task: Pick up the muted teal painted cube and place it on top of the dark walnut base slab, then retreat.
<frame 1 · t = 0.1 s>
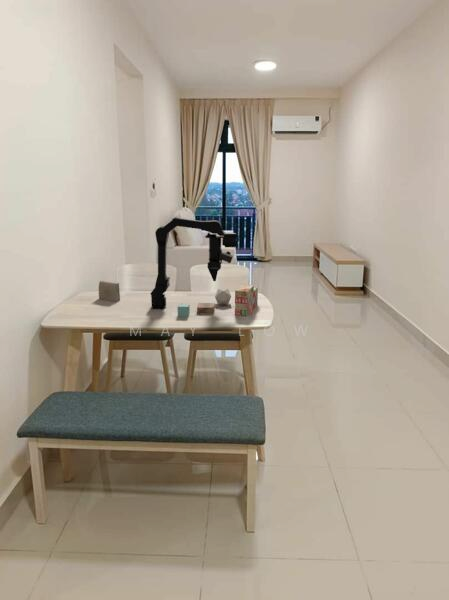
hand: (215, 279, 217), 15 cm above the table, tool pointing down, fingers open, 9 cm apart
printed cardboard box: (246, 310, 219), on the table
walnut base: (205, 311, 215), on the table
teal cube: (183, 315, 209), on the table
die: (223, 304, 228), on the table
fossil: (109, 300, 235), on the table
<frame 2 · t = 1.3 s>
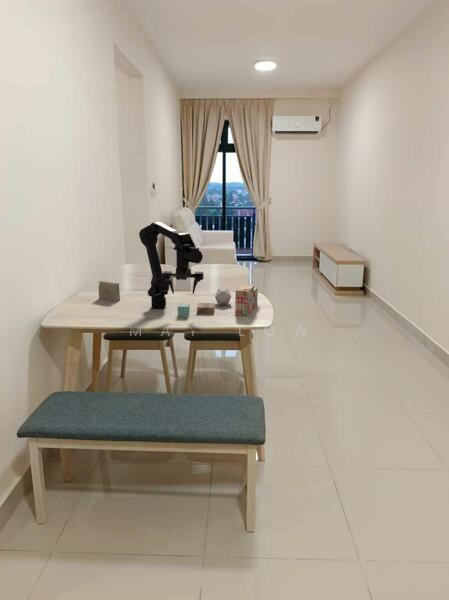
hand: (183, 293, 206), 10 cm above the table, tool pointing down, fingers open, 9 cm apart
nothing on the table moved.
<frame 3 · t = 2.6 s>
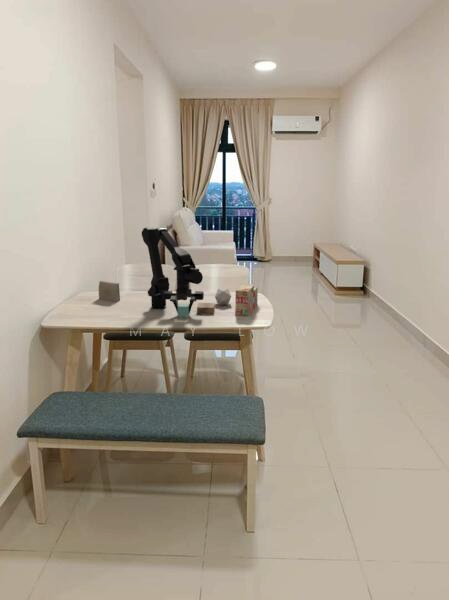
hand: (183, 313, 209), 1 cm above the table, tool pointing down, fingers closed on teal cube, 5 cm apart
teal cube: (183, 315, 209), on the table, touching gripper
everything else where it was.
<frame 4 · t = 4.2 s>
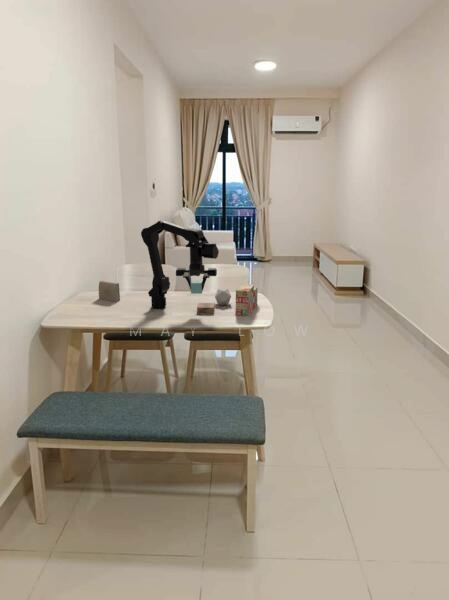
hand: (196, 290, 209), 11 cm above the table, tool pointing down, fingers closed on teal cube, 5 cm apart
teal cube: (196, 292, 210), point 10 cm above the table, touching gripper
everything else where it was.
when the fingers open (5 cm above the table, at t = 5.9 s): teal cube drops 1 cm, resting on walnut base.
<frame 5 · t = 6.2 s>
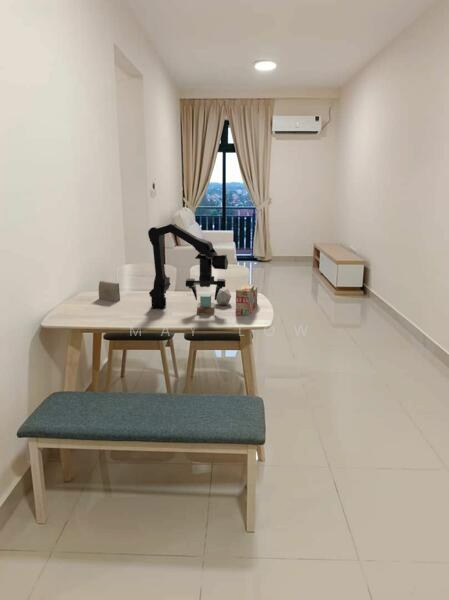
hand: (205, 300, 214), 5 cm above the table, tool pointing down, fingers open, 9 cm apart
teal cube: (205, 305, 215), point 3 cm above the table, touching walnut base
everything else where it was.
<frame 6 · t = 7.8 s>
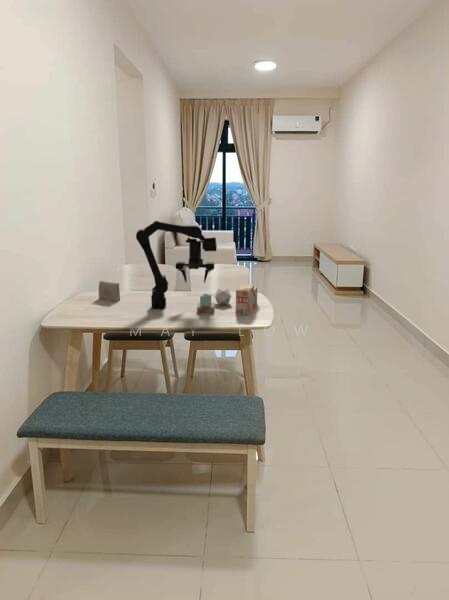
hand: (195, 282, 221), 12 cm above the table, tool pointing down, fingers open, 9 cm apart
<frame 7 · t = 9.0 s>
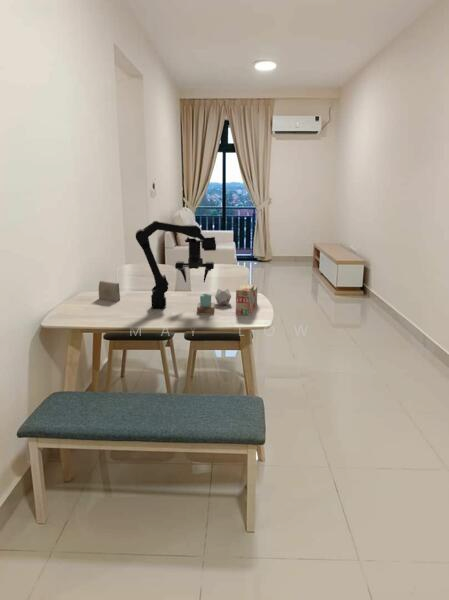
hand: (195, 282, 222), 12 cm above the table, tool pointing down, fingers open, 9 cm apart
at the end: teal cube 0.1 cm off-centre on the walnut base, point 3.0 cm above the walnut base's base; teal cube tilted 0°; the gripper is holding nothing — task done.
